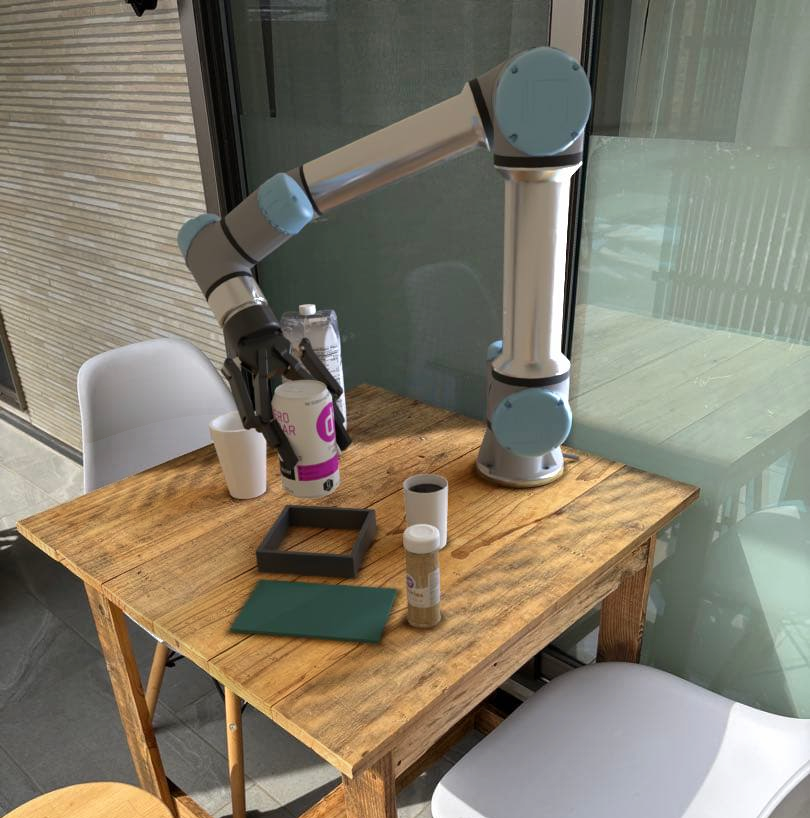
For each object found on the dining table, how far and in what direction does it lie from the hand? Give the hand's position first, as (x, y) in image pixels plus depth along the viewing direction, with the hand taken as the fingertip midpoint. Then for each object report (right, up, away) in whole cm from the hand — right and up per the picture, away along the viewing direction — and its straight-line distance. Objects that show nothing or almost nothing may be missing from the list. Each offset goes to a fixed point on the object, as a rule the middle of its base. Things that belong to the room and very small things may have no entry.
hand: (320, 455), depth 117 cm
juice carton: (-4, +5, +45) cm, 45 cm away
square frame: (-1, -13, +12) cm, 18 cm away
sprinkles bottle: (+14, -22, -4) cm, 27 cm away
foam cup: (-16, -3, +31) cm, 35 cm away
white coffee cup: (+15, -12, +13) cm, 23 cm away
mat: (0, -21, -2) cm, 21 cm away
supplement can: (-2, -4, +6) cm, 7 cm away
